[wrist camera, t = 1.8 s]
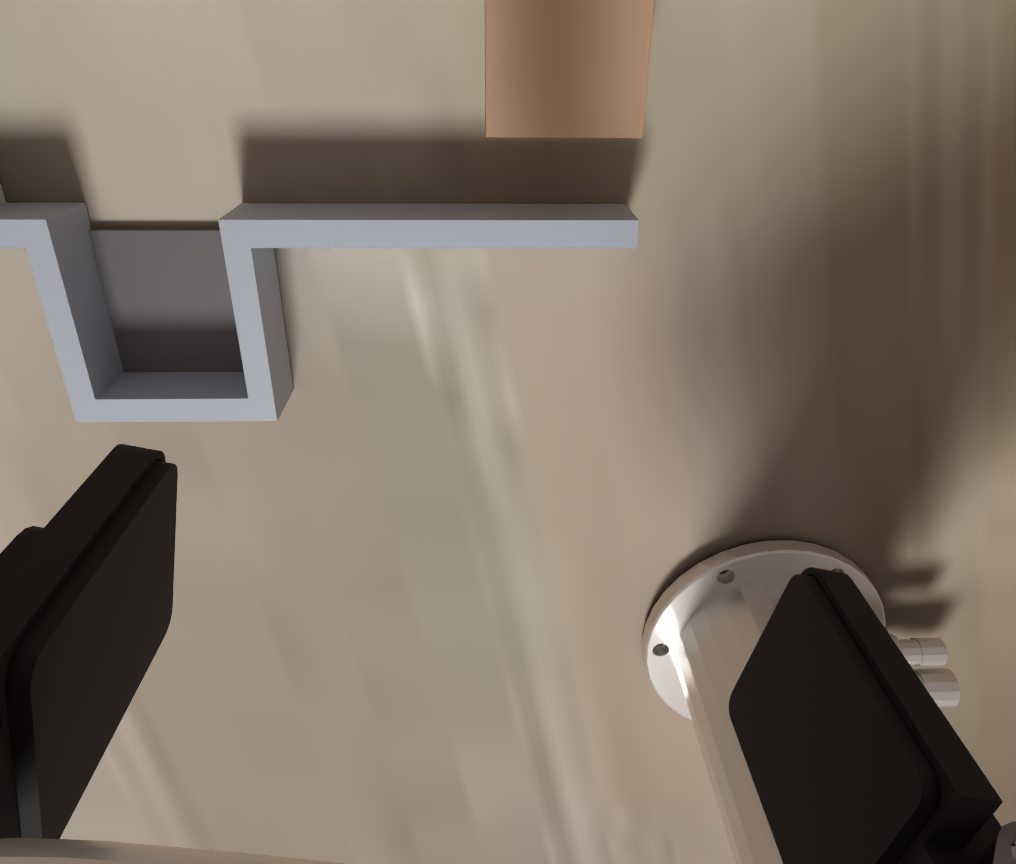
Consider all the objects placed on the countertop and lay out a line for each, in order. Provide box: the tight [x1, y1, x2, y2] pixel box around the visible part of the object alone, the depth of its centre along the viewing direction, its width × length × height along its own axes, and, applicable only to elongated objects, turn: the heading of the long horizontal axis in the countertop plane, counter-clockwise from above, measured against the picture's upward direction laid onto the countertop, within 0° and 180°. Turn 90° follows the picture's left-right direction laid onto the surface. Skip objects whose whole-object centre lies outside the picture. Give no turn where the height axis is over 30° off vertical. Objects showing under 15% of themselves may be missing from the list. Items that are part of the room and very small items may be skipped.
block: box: [485, 0, 654, 138], centre depth 25 cm, size 5×5×5 cm
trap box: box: [0, 183, 639, 422], centre depth 26 cm, size 25×27×3 cm
